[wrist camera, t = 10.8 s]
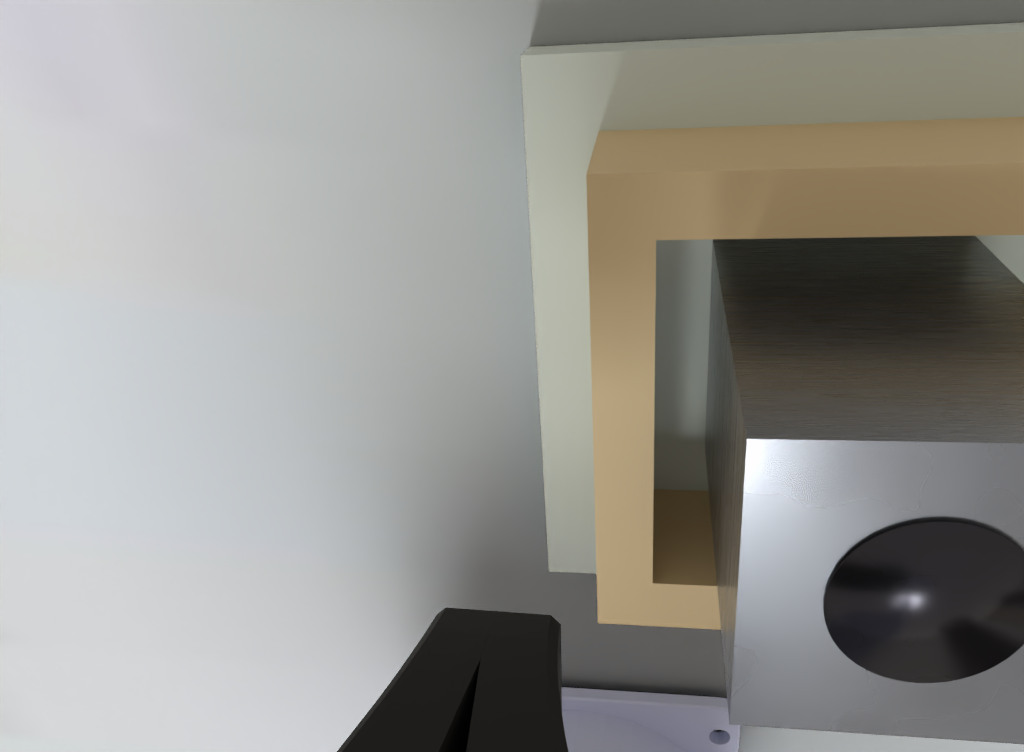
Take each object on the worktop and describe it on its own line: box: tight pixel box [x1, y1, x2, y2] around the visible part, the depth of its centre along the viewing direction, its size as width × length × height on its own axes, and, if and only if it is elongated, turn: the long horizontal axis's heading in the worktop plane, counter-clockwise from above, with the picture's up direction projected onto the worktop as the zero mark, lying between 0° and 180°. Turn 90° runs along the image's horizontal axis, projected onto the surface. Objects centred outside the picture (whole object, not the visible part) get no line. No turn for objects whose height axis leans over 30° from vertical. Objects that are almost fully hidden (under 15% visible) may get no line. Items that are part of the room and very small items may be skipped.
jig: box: [520, 22, 1024, 630], centre depth 16 cm, size 11×11×4 cm
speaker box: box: [705, 236, 1024, 744], centre depth 14 cm, size 4×4×7 cm
